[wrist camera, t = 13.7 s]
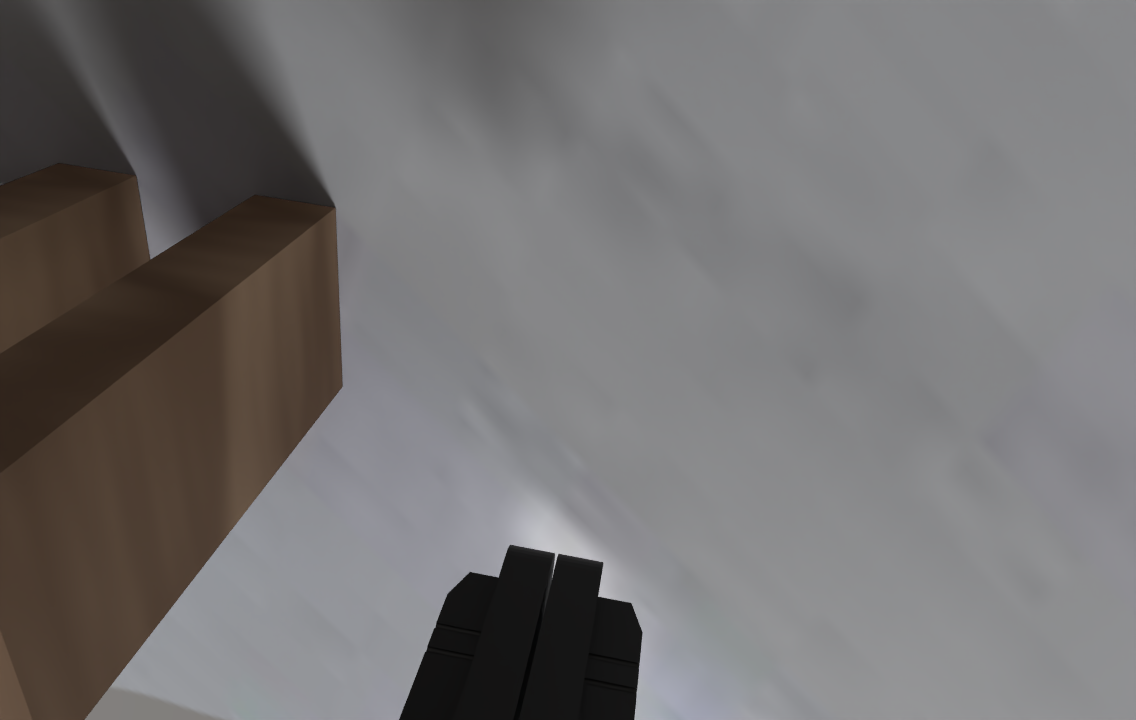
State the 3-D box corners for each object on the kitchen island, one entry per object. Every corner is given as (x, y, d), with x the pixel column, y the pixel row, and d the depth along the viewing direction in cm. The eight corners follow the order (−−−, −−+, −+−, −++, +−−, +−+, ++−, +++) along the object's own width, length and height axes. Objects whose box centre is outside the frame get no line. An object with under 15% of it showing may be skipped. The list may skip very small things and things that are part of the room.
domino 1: (270, 373, 22) (-75, 737, 12) (254, 194, 19) (-198, 477, 10) (342, 386, 21) (48, 764, 12) (335, 207, 19) (-44, 508, 9)
